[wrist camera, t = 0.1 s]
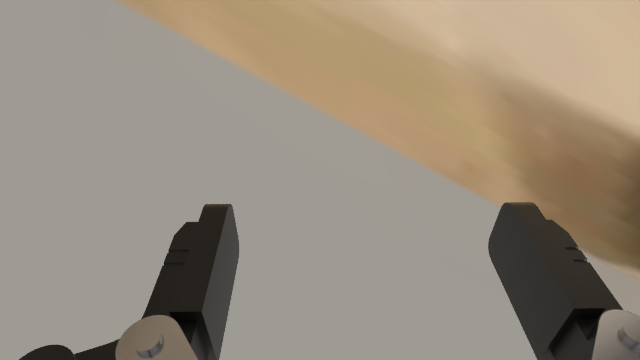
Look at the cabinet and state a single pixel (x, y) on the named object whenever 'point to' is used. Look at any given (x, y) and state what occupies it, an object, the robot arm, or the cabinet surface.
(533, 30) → the cabinet surface
